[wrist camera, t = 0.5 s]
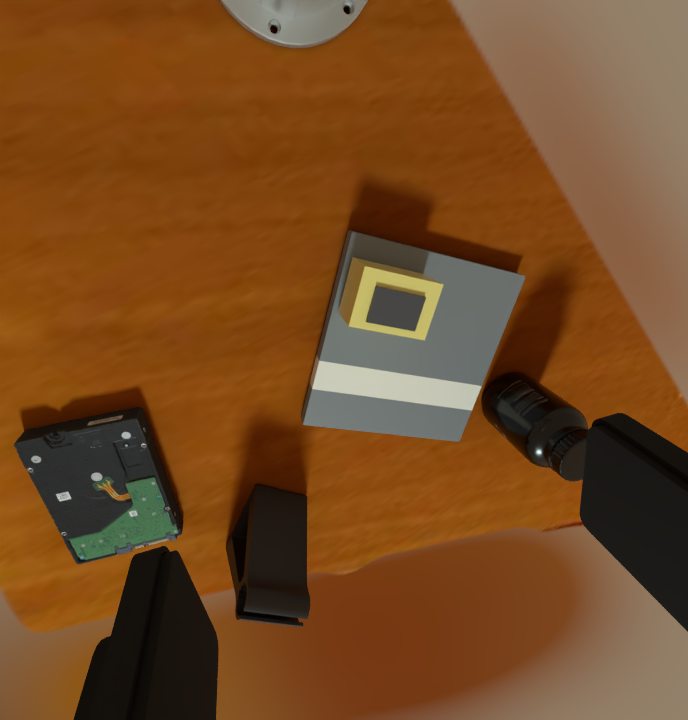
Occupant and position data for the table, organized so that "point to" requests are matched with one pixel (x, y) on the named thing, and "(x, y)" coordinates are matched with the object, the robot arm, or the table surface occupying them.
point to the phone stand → (270, 558)
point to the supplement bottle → (538, 424)
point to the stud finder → (389, 299)
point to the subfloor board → (411, 349)
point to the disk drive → (102, 483)
